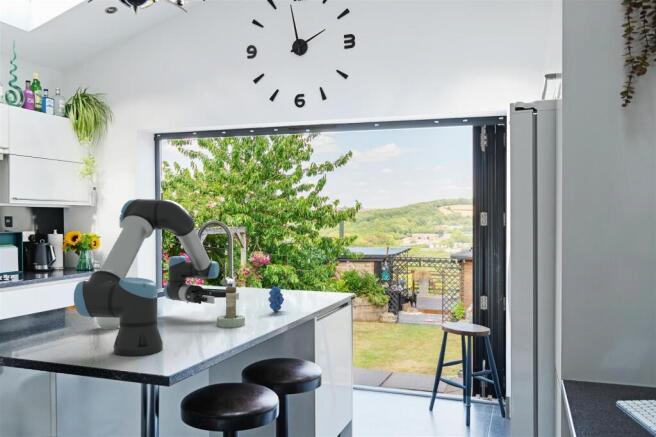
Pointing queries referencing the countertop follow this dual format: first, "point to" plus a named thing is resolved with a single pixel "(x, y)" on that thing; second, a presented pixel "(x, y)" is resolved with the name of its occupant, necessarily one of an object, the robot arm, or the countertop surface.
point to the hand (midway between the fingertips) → (226, 298)
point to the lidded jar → (108, 322)
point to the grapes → (275, 298)
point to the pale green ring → (231, 321)
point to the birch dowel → (230, 302)
